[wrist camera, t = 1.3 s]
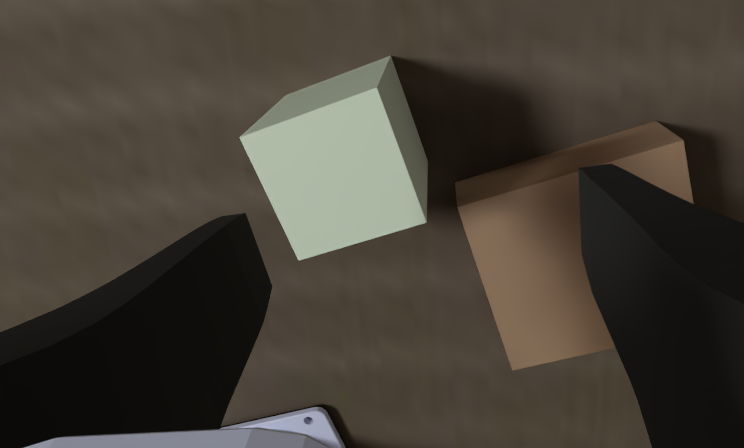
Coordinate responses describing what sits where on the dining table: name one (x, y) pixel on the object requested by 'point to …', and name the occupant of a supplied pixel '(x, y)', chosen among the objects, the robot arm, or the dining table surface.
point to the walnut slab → (554, 239)
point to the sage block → (342, 160)
